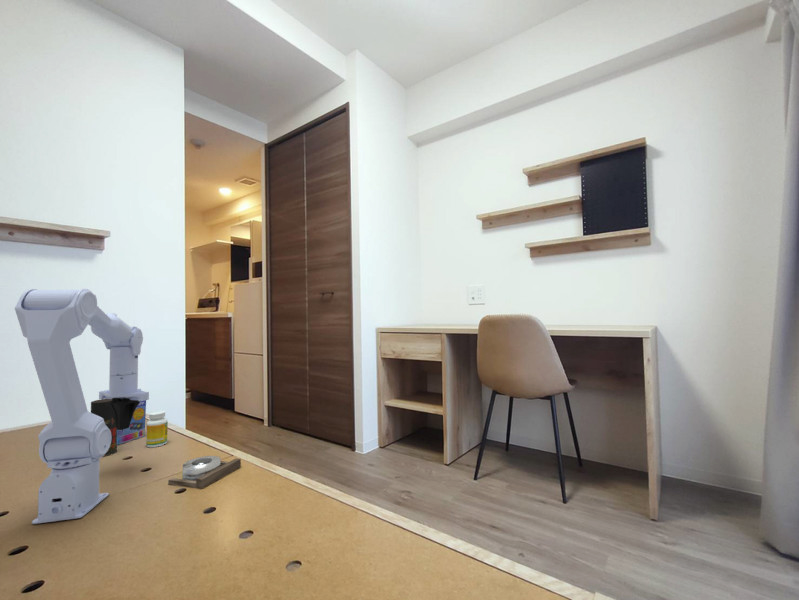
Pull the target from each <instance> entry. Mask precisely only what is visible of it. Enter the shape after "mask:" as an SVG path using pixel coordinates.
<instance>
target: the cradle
mask: <svg viewBox="0 0 799 600" xmlns="http://www.w3.org/2000/svg"><path fill="white" fill-rule="evenodd" d="M241 460H242V459H241V458H238V457H237V458H234V459H232V460H230V461H226V460H220V467H218V468H216V469H214V470H212V471H211V472H209V473H207V474H205V475H203V476H201V477H199V478H197V479H196V481H192V480H185V479H182V478H177V477H176V478H175V477H171V478H170V479H168V483H167V484H168V485H170V484H171V486H177V485H178V487H184V486H185V488H186V487H187V488H191V489H199V490H202V489H204V488H206V487H208V486H209V485H212V484H213V483H215V482H217V481H218V480H221V479H222V478H224V477H225V476H227V475H229V474H231V473H233V472H235V471H236V470H238V469H240V468H241V467H242V466H241V464H242V461H241Z"/></svg>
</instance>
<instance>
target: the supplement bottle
mask: <svg viewBox="0 0 799 600" xmlns="http://www.w3.org/2000/svg"><path fill="white" fill-rule="evenodd" d="M148 416H149V417H148V418H149V420H147V422H146V423H145V434H146V437H145V446H146V447H147V448H158V446H159V447H162V446H165V445H166V444H167V443H168V428H169V427H168V426H169V424H168V422H169V421H168V419H167V418H166V411H165V410H159V411H153V412H151V413H149V415H148ZM164 444H165V445H164Z"/></svg>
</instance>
